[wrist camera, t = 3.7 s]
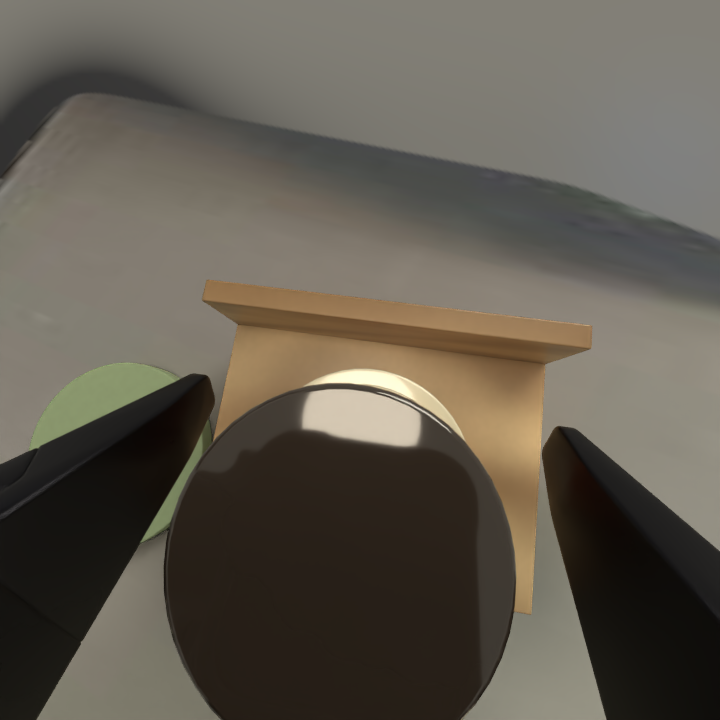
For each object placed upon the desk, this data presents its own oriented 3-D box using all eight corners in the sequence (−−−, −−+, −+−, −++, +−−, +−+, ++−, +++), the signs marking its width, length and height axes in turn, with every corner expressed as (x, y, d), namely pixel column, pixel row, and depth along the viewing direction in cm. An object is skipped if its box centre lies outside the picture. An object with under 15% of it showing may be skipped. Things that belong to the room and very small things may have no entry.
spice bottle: (366, 523, 13) (290, 1083, 2) (300, 439, 14) (-20, 522, 3) (445, 451, 13) (750, 605, 2) (376, 373, 14) (363, 210, 3)
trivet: (103, 584, 16) (85, 595, 15) (16, 440, 18) (-6, 442, 17) (247, 461, 17) (238, 463, 16) (150, 332, 18) (137, 327, 18)
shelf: (498, 571, 15) (581, 680, 9) (228, 522, 16) (133, 588, 10) (513, 360, 17) (593, 325, 11) (267, 328, 18) (205, 278, 12)
